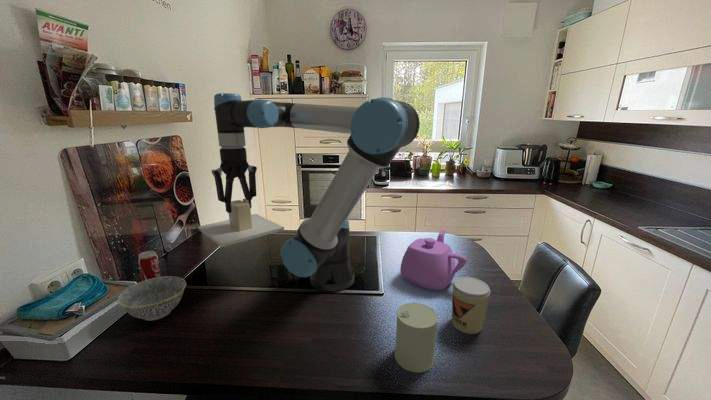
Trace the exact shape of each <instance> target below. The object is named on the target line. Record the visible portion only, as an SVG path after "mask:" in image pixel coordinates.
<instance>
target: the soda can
mask: <svg viewBox="0 0 711 400" xmlns="http://www.w3.org/2000/svg"><path fill="white" fill-rule="evenodd" d="M158 257H159V256H158V254H157V252H156V251H154V250H147V251H144V252H141V253H139V254H138V258H137V263H138V267H139V271H140V276H141V277H140V278H141V282H142V281H145V280H148V279H152V278H157V277H162V273H161V272H162V271H161V267H160V261H159V258H158Z"/></svg>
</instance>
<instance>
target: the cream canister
mask: <svg viewBox="0 0 711 400" xmlns="http://www.w3.org/2000/svg"><path fill="white" fill-rule="evenodd" d="M490 296H491V289H490V286H489V285H488V283H486V282H485V281H483V280H481V279H479V278H477V277H471V276H460V277H457V278H455V279H454V281H453V282H452V303H451V305H452V306H451V323H452V325H453V327H454V328H455V329H456V330H458V331H460V332H461V333H463V334H464V333H465V334H468V335H477V334H478V333H480V332H481V331H482V329H483V326H484V323H485V322H484V321H485V316H486V313H487V308H488V303H489V299H490Z"/></svg>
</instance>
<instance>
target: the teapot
mask: <svg viewBox="0 0 711 400" xmlns="http://www.w3.org/2000/svg"><path fill="white" fill-rule="evenodd" d="M445 235H446V230H441V231H439V233H438V235H437V238H436V239H435V238H432V237H426V238H418V239H415V240H413V241H412V242H411V243H410V244H409V245H408V246H407V248H406V250H405V252H404V255H403V256H402V260H401V262H400V263H401V264H400V268H399V271H400V274H401V276H402V278H403V280H405V281H406V282H408V283H410V284H413V285H414V286H417V287H420V288H424V289H427V290H434V291H442V290H445V289H446V287H447V286H448V285H450V283H451V282H452V281H453V279H454V277H455V276H456V274H457V273H458V272H459V271H461V270H462V269H463V268H464V267H465V266H466V263H467V257H466V256H464V255H462V254H460V253H453V250H452V248H451V246H450V245H449V244H447V243H445V241H444V240H445ZM455 259H456V260H457V264H456V260H455Z"/></svg>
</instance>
